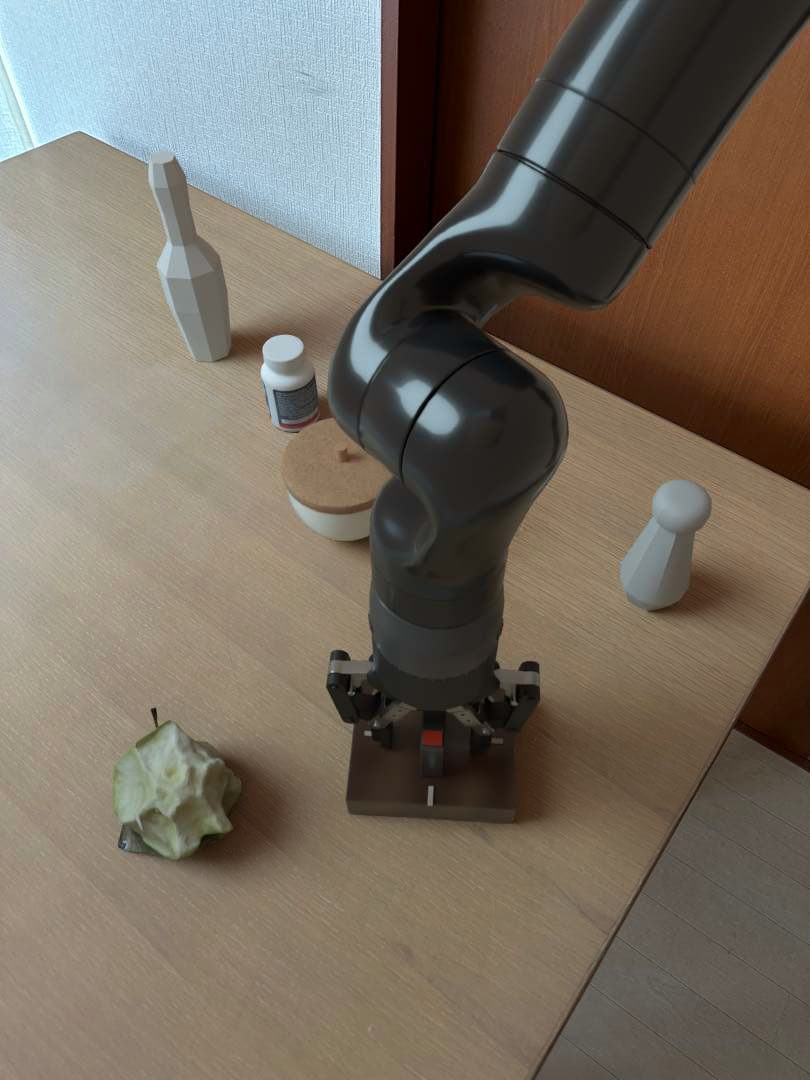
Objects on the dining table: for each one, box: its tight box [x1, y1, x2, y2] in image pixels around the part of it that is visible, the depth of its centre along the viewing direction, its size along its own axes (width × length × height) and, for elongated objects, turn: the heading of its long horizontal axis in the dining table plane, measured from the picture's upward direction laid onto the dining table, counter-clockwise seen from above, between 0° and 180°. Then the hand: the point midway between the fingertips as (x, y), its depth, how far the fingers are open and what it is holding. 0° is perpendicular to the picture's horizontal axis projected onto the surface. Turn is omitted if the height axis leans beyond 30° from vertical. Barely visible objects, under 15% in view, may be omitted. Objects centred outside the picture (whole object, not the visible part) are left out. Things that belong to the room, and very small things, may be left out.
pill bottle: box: [260, 334, 321, 433], centre depth 83 cm, size 5×5×9 cm
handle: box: [420, 710, 446, 777], centre depth 59 cm, size 6×2×5 cm, turn 176°
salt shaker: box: [619, 479, 713, 612], centre depth 67 cm, size 6×6×13 cm
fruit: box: [112, 707, 242, 862], centre depth 59 cm, size 9×9×8 cm
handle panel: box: [345, 680, 517, 825], centre depth 62 cm, size 12×10×3 cm
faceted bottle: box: [147, 150, 233, 363], centre depth 84 cm, size 6×6×22 cm
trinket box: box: [280, 417, 393, 542], centre depth 74 cm, size 11×11×9 cm
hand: (430, 738), depth 61 cm, fingers open, 6 cm apart
